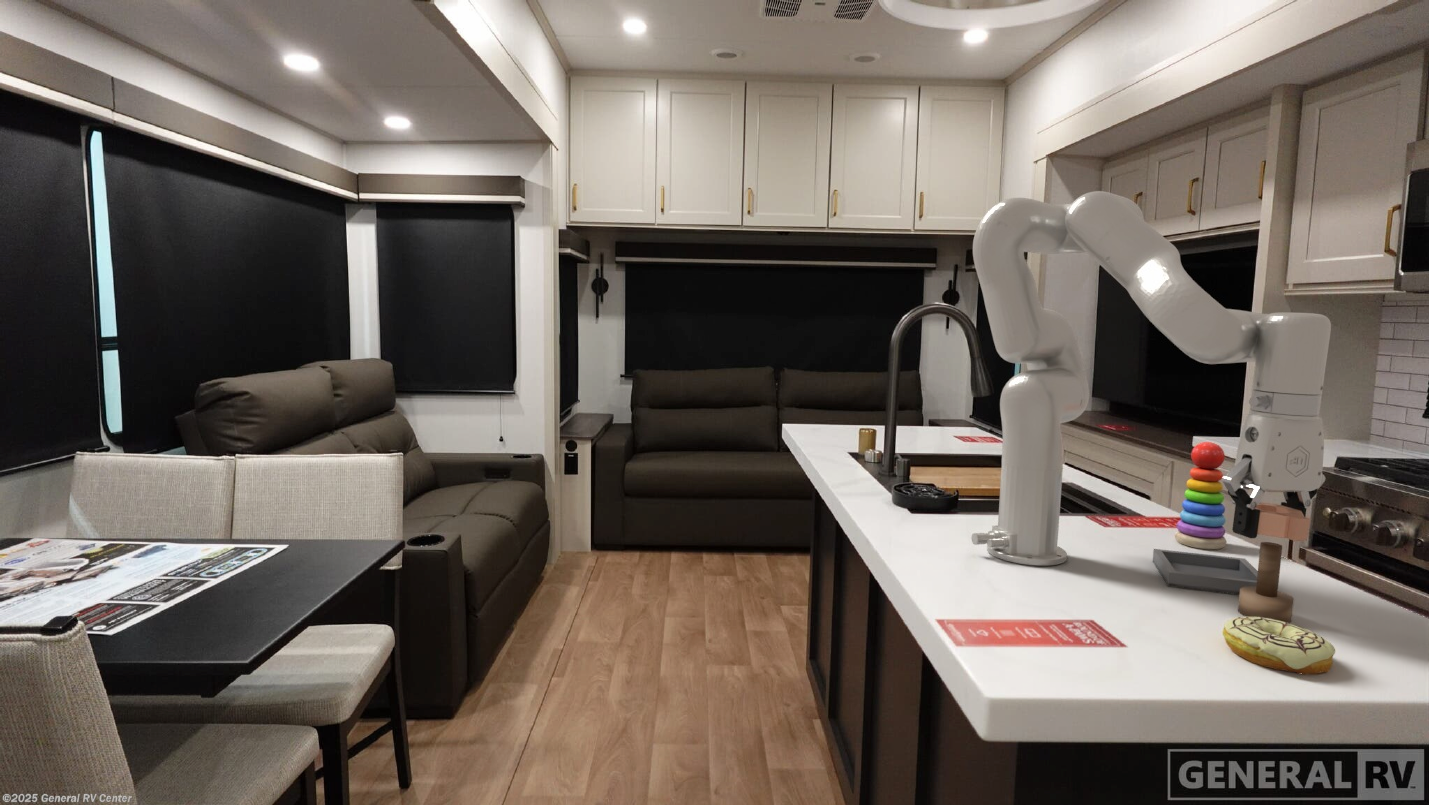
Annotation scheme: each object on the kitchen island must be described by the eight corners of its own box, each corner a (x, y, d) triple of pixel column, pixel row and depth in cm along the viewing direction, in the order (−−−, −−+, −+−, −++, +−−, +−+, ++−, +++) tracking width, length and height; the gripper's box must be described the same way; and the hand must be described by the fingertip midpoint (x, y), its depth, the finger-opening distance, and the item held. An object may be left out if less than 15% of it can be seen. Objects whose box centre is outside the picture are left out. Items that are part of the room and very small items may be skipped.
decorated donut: (1312, 688, 85) (1315, 655, 84) (1206, 652, 93) (1209, 622, 93) (1345, 665, 91) (1349, 634, 90) (1243, 633, 99) (1246, 605, 99)
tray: (1269, 598, 112) (1271, 584, 111) (1168, 586, 116) (1169, 572, 116) (1243, 571, 124) (1245, 558, 123) (1152, 561, 128) (1153, 548, 128)
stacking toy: (1236, 551, 135) (1246, 446, 133) (1190, 550, 135) (1199, 445, 133) (1208, 538, 143) (1217, 439, 141) (1165, 537, 143) (1173, 438, 141)
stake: (1267, 625, 102) (1274, 552, 100) (1227, 608, 107) (1233, 539, 106) (1302, 622, 103) (1310, 549, 102) (1261, 605, 109) (1268, 537, 108)
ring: (1280, 542, 99) (1283, 519, 98) (1224, 523, 107) (1226, 502, 106) (1322, 540, 101) (1325, 517, 100) (1264, 521, 109) (1267, 501, 108)
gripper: (1257, 409, 96) (1240, 545, 99) (1364, 409, 101) (1344, 540, 103) (1206, 401, 104) (1191, 528, 106) (1308, 402, 108) (1291, 524, 110)
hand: (1267, 533), depth 104 cm, fingers closed on ring, 7 cm apart
